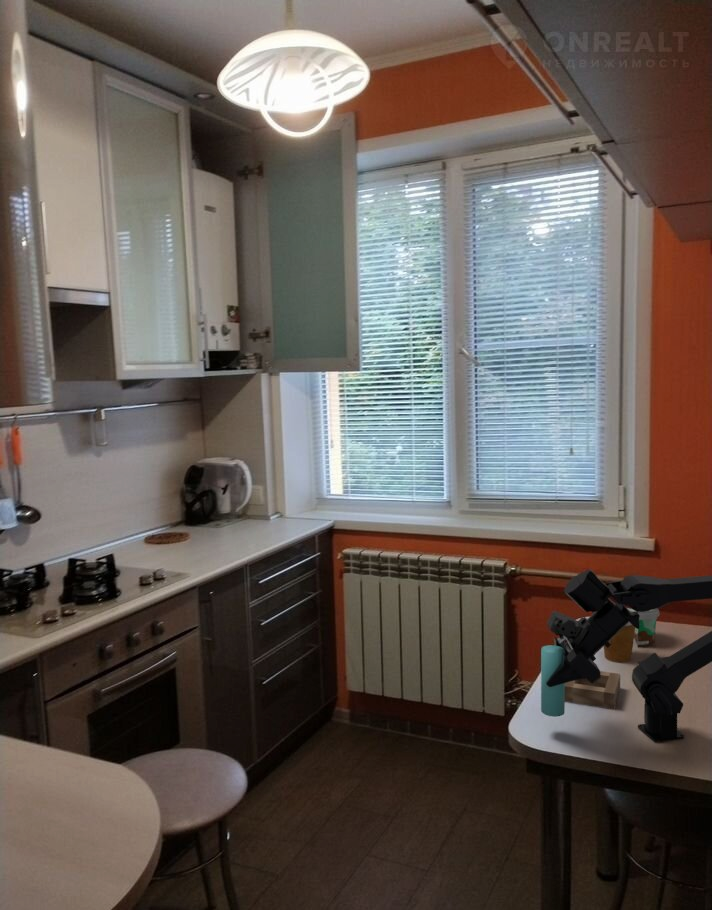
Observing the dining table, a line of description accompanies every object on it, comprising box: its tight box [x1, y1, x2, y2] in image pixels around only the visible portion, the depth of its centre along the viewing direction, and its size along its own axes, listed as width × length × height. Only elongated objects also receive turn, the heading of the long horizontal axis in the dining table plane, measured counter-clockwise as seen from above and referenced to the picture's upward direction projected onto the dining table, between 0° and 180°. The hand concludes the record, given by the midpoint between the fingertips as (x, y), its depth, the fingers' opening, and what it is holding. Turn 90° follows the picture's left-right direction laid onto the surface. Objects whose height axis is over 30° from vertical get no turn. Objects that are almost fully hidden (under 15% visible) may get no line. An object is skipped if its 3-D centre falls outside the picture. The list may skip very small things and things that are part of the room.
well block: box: [565, 670, 621, 710], centre depth 165 cm, size 11×11×4 cm
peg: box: [540, 644, 566, 718], centre depth 147 cm, size 5×5×13 cm
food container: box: [630, 608, 660, 648], centre depth 195 cm, size 12×6×10 cm, turn 168°
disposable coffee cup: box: [603, 607, 635, 663], centre depth 184 cm, size 10×10×12 cm
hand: (545, 680), depth 147 cm, fingers closed on peg, 5 cm apart
